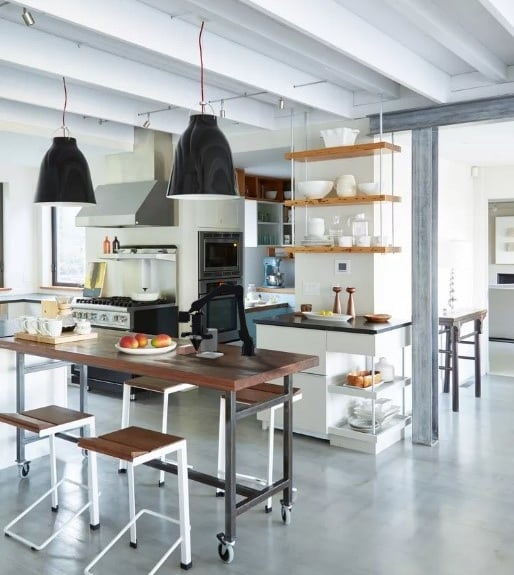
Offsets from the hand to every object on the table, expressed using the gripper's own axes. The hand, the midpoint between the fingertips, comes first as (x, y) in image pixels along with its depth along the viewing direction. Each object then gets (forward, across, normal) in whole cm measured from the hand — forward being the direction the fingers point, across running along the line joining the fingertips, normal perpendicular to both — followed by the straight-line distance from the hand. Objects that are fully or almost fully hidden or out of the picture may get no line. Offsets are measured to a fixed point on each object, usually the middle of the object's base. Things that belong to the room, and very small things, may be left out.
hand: (196, 350), depth 358 cm
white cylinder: (+2, +2, -15) cm, 15 cm away
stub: (+2, +7, 0) cm, 7 cm away
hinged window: (+2, -9, 0) cm, 9 cm away
